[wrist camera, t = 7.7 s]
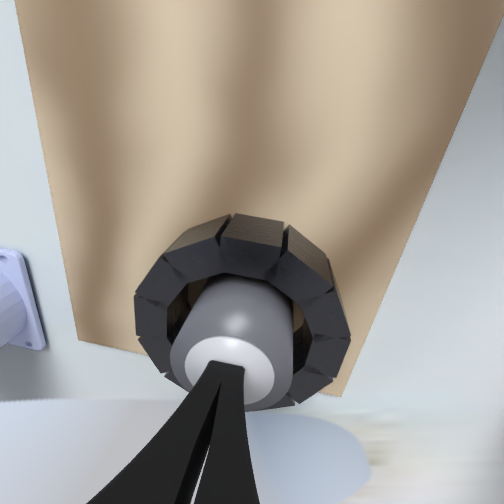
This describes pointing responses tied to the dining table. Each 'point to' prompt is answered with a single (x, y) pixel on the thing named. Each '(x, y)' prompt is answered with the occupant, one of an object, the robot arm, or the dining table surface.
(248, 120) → the tan wooden board
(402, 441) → the dining table surface
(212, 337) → the grey domed cylinder
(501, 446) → the dining table surface
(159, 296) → the segmented dark ring
